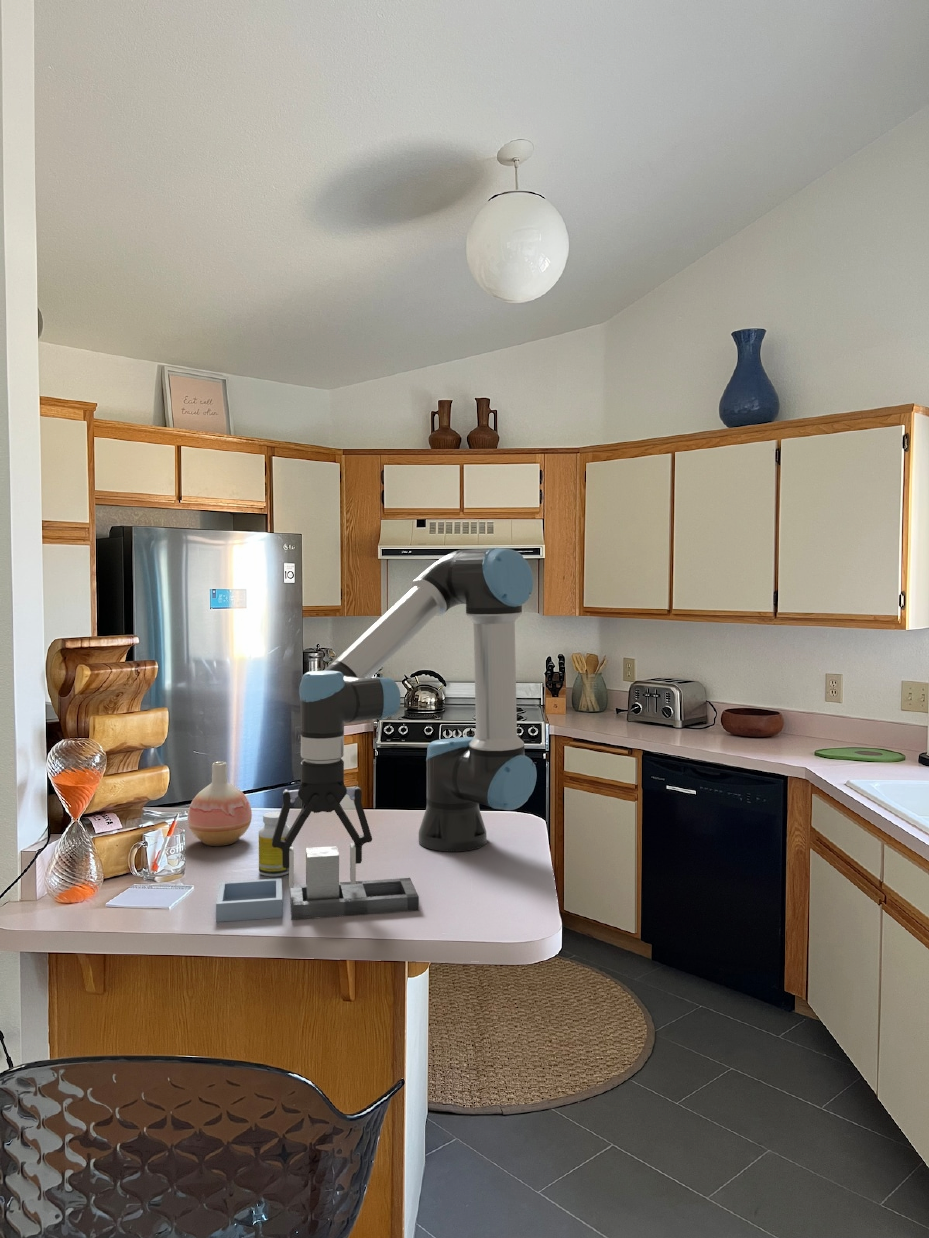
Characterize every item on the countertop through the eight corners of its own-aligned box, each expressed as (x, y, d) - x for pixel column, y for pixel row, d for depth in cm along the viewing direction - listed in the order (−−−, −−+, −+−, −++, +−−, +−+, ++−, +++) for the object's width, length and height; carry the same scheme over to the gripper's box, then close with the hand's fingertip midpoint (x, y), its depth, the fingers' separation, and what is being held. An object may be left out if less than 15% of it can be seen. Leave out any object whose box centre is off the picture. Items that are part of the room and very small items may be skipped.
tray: (281, 894, 163) (281, 878, 163) (282, 917, 152) (282, 899, 152) (219, 898, 161) (219, 882, 161) (216, 921, 150) (215, 903, 150)
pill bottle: (284, 879, 172) (284, 819, 171) (253, 876, 173) (252, 817, 173) (297, 868, 178) (297, 811, 178) (267, 866, 180) (266, 809, 179)
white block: (336, 900, 161) (336, 846, 160) (339, 911, 155) (339, 855, 155) (306, 902, 160) (306, 847, 159) (307, 913, 154) (307, 857, 154)
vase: (218, 855, 186) (217, 772, 185) (174, 844, 193) (173, 764, 193) (264, 839, 198) (264, 761, 197) (221, 829, 205) (221, 754, 204)
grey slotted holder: (410, 890, 166) (410, 877, 166) (418, 910, 156) (418, 896, 156) (290, 899, 161) (290, 885, 161) (291, 919, 151) (291, 905, 151)
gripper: (383, 752, 162) (383, 872, 163) (256, 757, 157) (257, 880, 158) (389, 760, 155) (388, 886, 156) (255, 765, 150) (256, 894, 151)
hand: (322, 883), depth 157 cm, fingers open, 10 cm apart
